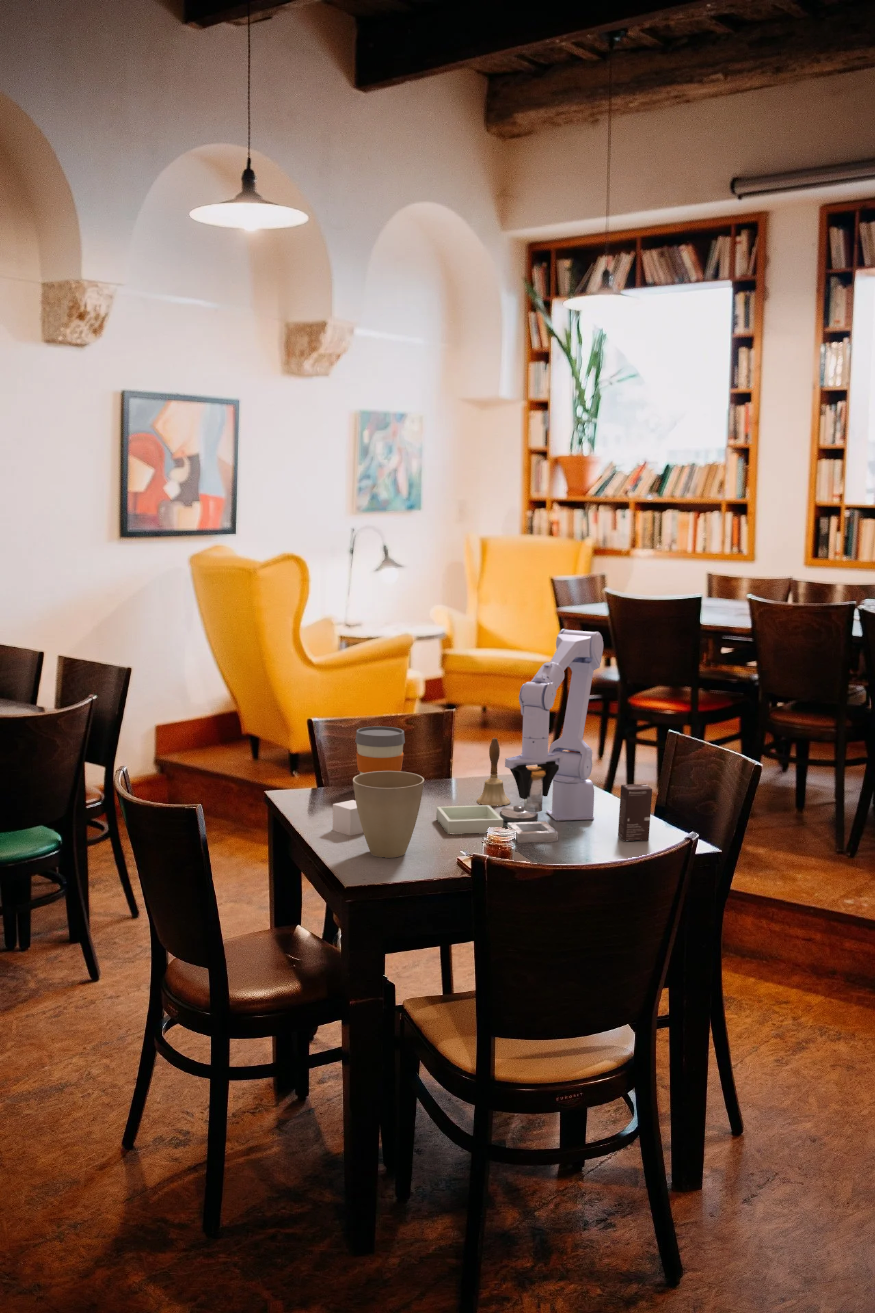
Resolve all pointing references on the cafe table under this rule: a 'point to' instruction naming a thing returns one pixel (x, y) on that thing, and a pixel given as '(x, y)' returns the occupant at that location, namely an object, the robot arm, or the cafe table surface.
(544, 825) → the tensioner bracket
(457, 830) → the parts tray
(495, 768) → the hand bell
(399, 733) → the reusable coffee cup
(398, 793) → the plant pot
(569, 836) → the cafe table surface
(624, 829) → the box
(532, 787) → the jar with gold lid
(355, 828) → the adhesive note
